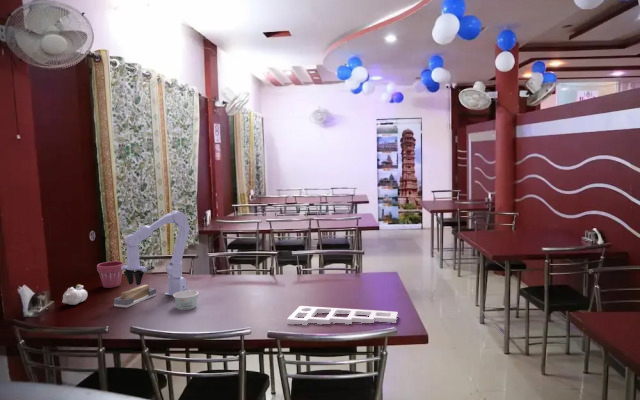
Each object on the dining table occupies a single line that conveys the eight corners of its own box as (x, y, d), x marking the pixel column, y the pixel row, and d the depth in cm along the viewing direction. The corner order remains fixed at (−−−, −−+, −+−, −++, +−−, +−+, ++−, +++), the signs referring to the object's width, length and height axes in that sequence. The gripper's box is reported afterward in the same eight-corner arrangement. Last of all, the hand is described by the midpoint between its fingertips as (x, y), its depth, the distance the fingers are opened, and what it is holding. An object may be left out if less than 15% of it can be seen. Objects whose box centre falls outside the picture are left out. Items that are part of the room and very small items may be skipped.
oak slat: (149, 294, 247) (148, 284, 247) (126, 303, 232) (126, 293, 232) (144, 293, 248) (144, 284, 248) (122, 302, 234) (121, 293, 233)
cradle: (156, 295, 249) (155, 288, 248) (126, 307, 229) (126, 300, 229) (144, 294, 252) (143, 287, 251) (114, 306, 232) (113, 299, 232)
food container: (176, 312, 220) (175, 298, 219) (171, 305, 230) (170, 292, 230) (202, 308, 225) (201, 294, 225) (196, 301, 236) (195, 288, 235)
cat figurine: (83, 281, 245) (63, 285, 231) (95, 289, 244) (75, 294, 229) (74, 296, 246) (54, 302, 231) (86, 304, 245) (66, 310, 230)
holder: (398, 317, 206) (397, 311, 205) (393, 332, 188) (393, 326, 188) (300, 311, 218) (299, 305, 217) (287, 325, 200) (286, 319, 200)
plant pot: (130, 284, 273) (128, 262, 272) (108, 290, 261) (106, 267, 260) (115, 281, 280) (113, 260, 279) (93, 287, 269) (91, 265, 267)
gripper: (116, 259, 237) (117, 285, 238) (138, 260, 232) (140, 287, 233) (126, 256, 244) (128, 281, 245) (148, 257, 238) (150, 283, 240)
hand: (134, 284), depth 240 cm, fingers open, 4 cm apart
